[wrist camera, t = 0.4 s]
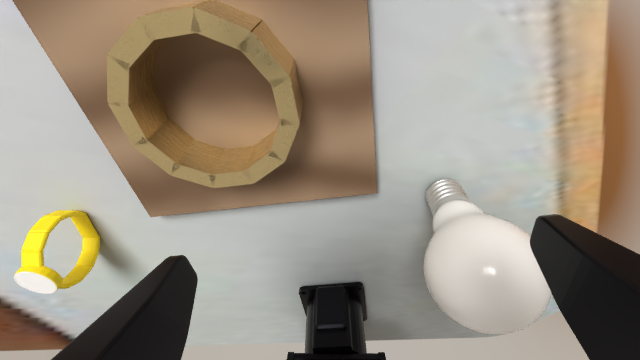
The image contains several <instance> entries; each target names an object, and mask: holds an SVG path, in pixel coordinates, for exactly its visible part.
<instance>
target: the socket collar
mask: <svg viewBox="0 0 640 360" xmlns="http://www.w3.org/2000/svg"><path fill="white" fill-rule="evenodd" d="M261 21H262V19H260V18H258V17H256V16H253V15H251V14H248V13H246V12H244V11H241V10H239V9H237V8H234V7H232V6H230V5H227V4H225V3H223V2H220V1H218V0H203V1H198V2H192V3H186V4H181V5H175V6H169V7H165V8H162V9H159V10H156V11H153V12H150V13H147V14H144V15H141V16H138V17H137V18H136V19H135V20H134V22H133V23H132V24H131V25H130V27H129V28H128V29H127V30H126V31H125V33H124V34H123V35H122V36H121V38H120V39H119V40H118V41H117V43H116V44H115V45H114V46H113V48H112V49H111V50H110V51H109V52H108V55H107V102H108V105H109V107H110V108H111V110H112V112H113V114H114V115H115V117H116V119H117V120H118V122H119V124H120V126H121V127H122V129H123V131H124V133H125V134H126V136H127V138H128V139H129V141H130V143H131V145H132V146H133V145H134V146H133V147H134V148H135V149H137V150H138V151H139V152H141V153H142V154H143V155H145V156H146V157H147V158H148V159H150V160H151V161H152V162H154V163H155V164H156V165H158V166H159V167H160V168H162V169H163V170H164V171H165V172H167V173H168V174H169V175H171V174H172V175H171V176H174V177H177V178H181V179H184V180H187V181H191V182H194V183H197V184H201V185H204V186H207V187H211V188H213V187H214V188H221V187H230V186H239V185H247V184H253V183H256V182H257V181H259V180H260V179H261V178H263V177H264V176H266V175H267V174H269V173H270V172H271V171H273V170H274V169H276V168H277V167H279V166H280V165H281V164H283V163H284V162H285V161H286V158H287V156H288V153H289V151H290V148H291V145H292V143H293V140H294V138H295V135H296V133H297V130H298V127H299V125H300V118H301V112H302V105H303V100H302V95H301V89H300V84H299V79H298V74H297V68H296V63H295V60H294V58H293V57H292V55H291V54H290V53H289V52H288V50H287V49H286V48H285V47H284V45H283V44H282V43H281V42H280V40H279V39H278V38H277V37H276V35H275V34H274V33H273V32H272V31H271V29H270V28H269V27H268V26H267V24H266V23H265V22H264V21H262V22H261ZM192 33H198V34H200V35H203V36H205V37H208V38H211V39H213V40H216V41H218V42H221V43H223V44H226V45H228V46H231V47H233V48H236V49H238V50H241V51H242V53H243V54H244V55H245V56H246V57H247V58H248V59H249V60H250V61H251V63H252V64H253V65H254V66H255V67H256V68H257V69H258V70H259V72H260V73H261V74H262V75H263V76H264V77H265V78H266V79H267V81H268V82H269V83H270V84H271V86H272V90H273V94H274V98H275V102H276V107H277V111H278V115H279V119H280V120H279V123H278V125H277V128H276V129H275V130H274V131H273V132H271V133H270V134H269V135H267V136H266V137H265V138H264V139H262V140H261V141H260V142H258V143H257V144H256V145H254V146H247V147H239V148H231V149H223V148H220V147H217V146H214V145H211V144H207V143H204V142H201V141H198V140H195V139H194V138H193V137H191V136H190V135H189V134H188V133H187V132H186V131H184V130H183V129H182V128H181V127H180V126H179V125H178V124H176V123H175V122H174V121H173V120H172V119H171V118H169V116H168V114H167V112H166V110H165V108H164V106H163V104H162V101H161V99H160V97H159V95H158V93H157V91H156V89H155V87H154V79H155V66H156V53H157V51H158V50H159V49H160V48H161V47H162V46H163V44H164V43H165V42H166V41H167V40H168V39H169V38H170V37H174V36H180V35H186V34H192Z"/></svg>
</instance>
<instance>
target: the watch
mask: <svg viewBox="0 0 640 360" xmlns="http://www.w3.org/2000/svg"><path fill="white" fill-rule="evenodd" d="M68 217H71V219H72V221H73V222H74V224H75V226H76V227H77V229H78V230H79V232H80V234H81V235H82V237H83V244H82V253H81V255H80V257H79V260H78V262H77V264H76V266H75V267H74V269H73V270H72V271H71V272H70V273H69V274H68V275H67V276H66V277H65V278H63V279H62V277H61V276H60V275H59V274H58V273H57V272H56V271H54V270H52V269H50V268H48V267H45V266H44V258H43V250H44V247H45V245H46V242H47V239H48V236H49V233H50V232H51V231H52V230H53V229H54V228H55V226H56V225H57V224H58V223H59V222H60V221H61V220H64V219H66V218H68ZM99 246H100V235H98V233H97V231H96V230H95V228H94V227H93V225H92V223H91V221H90V220H89V218H88V216H87V214H86V213H84V212H79V211H62V210H59V211H55V212H53V213H50V214H48V215H45V216H43V217H42V218H41V219H40V220H39V221H38V222H37V223H36V224H35V225H34V226H33V227H32V228H31V229H30V232H28V234H27V237H26V239H25V242H24V245H23V247H22V252H21V258H22V267H21V268H20V269H19V270H18V271H17V272H16V273H15V275H14V280H15V281H16V282H17V283H18V284H19V285H20V286H22V287H24V288H26V289H28V290H30V291H33V292H37V293H44V294H49V293H53V292H55V291H57V290H58V288H61V289H66V288H69V287H71V286H73V285H75V284H77V283H79V282H81V280H83V279H84V278H85V276H86V275H87V274H88V273H89V272H90V270H91V269H92V267H93V266H94V264H95V261H96V259H97V256H98V254H99V253H98V252H99Z"/></svg>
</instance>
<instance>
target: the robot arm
mask: <svg viewBox="0 0 640 360" xmlns="http://www.w3.org/2000/svg"><path fill="white" fill-rule="evenodd" d="M530 247H531V250H532V252H533V254H534V256H535V259H536V261H537V263H538V265H539V267H540V269H541V271H542V274H543V276H544V278H545V280H546V282H547V284H548V286H549V289H550V291H551V293H552V295H553V297H554V299H555V301H556V303H557V305H558V307H559V309H560V311H561V312H562V314H563V316H564V317H565V319H566V321H567V323H568V324H569V326H570V328H571V329H572V331H573V333H574V334H575V336H576V338H577V339H578V341H579V343H580V344H581V346H582V347H583V349H584V351H585V352H586V354H587V356H588V358H589V359H590V360H640V254H638V253H635V252H634V251H632V250H629V249H627V248H625V247H623V246H621V245H619V244H617V243H615V242H613V241H611V240H609V239H607V238H605V237H603V236H601V235H599V234H597V233H595V232H593V231H591V230H589V229H587V228H585V227H583V226H581V225H579V224H577V223H575V222H573V221H571V220H569V219H567V218H565V217H563V216H561V215H558V214H552V215H543V216H539V217H538V218H537V219H536V221H535V224H534V228H533V231H532V234H531V237H530ZM196 288H197V274H196V272H195V271H194V269H193V267H192V266H191V264H190V262H189V261H188V259H187V258H186V257H185V256H184V255H179V256H170V257H168V258H166V259H165V260H164V261H163V262H162V263H161V264H159V265H158V266H157V267H156V268H155V269H154V270H153V271H152V272H150V273H149V274H148V275H147V276H146V277H145V278H144V279H142V280H141V281H140V282H139V283H138V284H137V285H136V286H134V287H133V288H132V289H131V290H130V291H129V292H128V293H126V294H125V295H124V296H123V297H122V298H121V299H120V300H118V301H117V302H116V303H115V304H114V305H113V306H112V307H111V308H109V309H108V310H107V311H106V312H105V313H104V314H103V315H101V316H100V317H99V318H98V319H97V320H96V321H95V322H93V323H92V324H91V325H90V326H89V327H88V328H87V329H85V330H84V331H83V332H82V333H81V334H80V335H79V336H77V337H76V338H75V339H74V340H73V341H72V342H71V343H70V344H68V345H67V346H66V347H65V348H64V349H63V350H62V351H60V352H59V353H58V354H57V355H56V356H55V357H54V358H52V360H181V357H182V353H183V350H184V347H185V343H186V339H187V335H188V330H189V325H190V320H191V315H192V309H193V304H194V298H195V293H196ZM299 295H300V298H301V301H302V304H303V307H304V310H305V314H306V317H307V320H306V340H305V353H294V352H288V356H287V360H386V357H385V353H384V352H379V353H378V354H371V353H370V354H369V353H368V354H367V353H366V343H365V333H364V324H363V321H365V320H367V315H366V305H365V296H364V287H363V284H362V283H360V282H355V283H343V284H330V285H317V286H304V287H301V288H300V289H299Z"/></svg>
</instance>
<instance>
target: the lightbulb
mask: <svg viewBox="0 0 640 360" xmlns="http://www.w3.org/2000/svg"><path fill="white" fill-rule="evenodd" d="M426 200H427V203H428V205H429V207H430V210H431V212H432V215H433V217H434V218H433V236H432V238H431V240H430V242H429V244H428V247H427V250H426V253H425V257H424V277H425V281H426V285H427V287H428V290H429V292H430V294H431V296H432V298H433V299H434V301H435V302H436V304H437V305H438V306H439V308H440V309H441V310H442V311H443V312H444V313H445V314H446V315H447V316H448V317H450V318H451V319H452V320H454V321H455V322H457V323H458V324H460V325H462V326H464V327H466V328H468V329H471V330H473V331H477V332H480V333H486V334H507V333H512V332H515V331H519V330H521V329H523V328H525V327H527V326H529V325H531V324H532V323H533V322H535V321H536V320H537V319H538V318H539V317H540V316H541V315H542V313H543V312H544V310H545V309H546V307H547V305H548V303H549V300H550V297H551V291H550V289H549V286H548V284H547V282H546V280H545V278H544V276H543V274H542V271H541V269H540V267H539V265H538V263H537V261H536V259H535V256H534V254H533V252H532V250H531V247H530V237H531V236H530V235H529V234H527V233H526V232H525V231H524V230H522V229H521V228H519V227H518V226H516V225H514V224H512V223H510V222H508V221H505V220H503V219H500V218H497V217H493V216H490V215H487V214H485V213H484V212H483V211H482V210H481V209H480V208H479V207H477V206H476V205H475V204H473V203H471V202H470V200H469V198H468V197H467V195H466V193H465V192H464V190H463V188H462V186H461V185H460V183H458V182H457V181H455V180H452V179H444V180H440V181H437V182H435V183H434V184H432V185H431V186H430V187H429V188H428V190H427V192H426Z"/></svg>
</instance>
